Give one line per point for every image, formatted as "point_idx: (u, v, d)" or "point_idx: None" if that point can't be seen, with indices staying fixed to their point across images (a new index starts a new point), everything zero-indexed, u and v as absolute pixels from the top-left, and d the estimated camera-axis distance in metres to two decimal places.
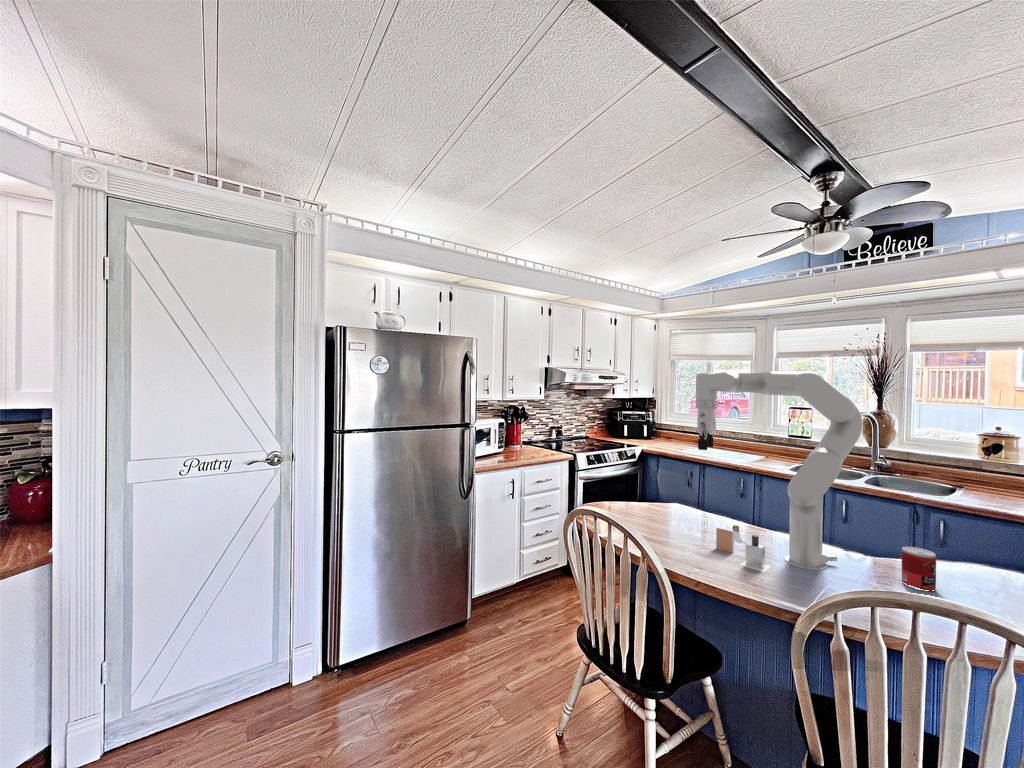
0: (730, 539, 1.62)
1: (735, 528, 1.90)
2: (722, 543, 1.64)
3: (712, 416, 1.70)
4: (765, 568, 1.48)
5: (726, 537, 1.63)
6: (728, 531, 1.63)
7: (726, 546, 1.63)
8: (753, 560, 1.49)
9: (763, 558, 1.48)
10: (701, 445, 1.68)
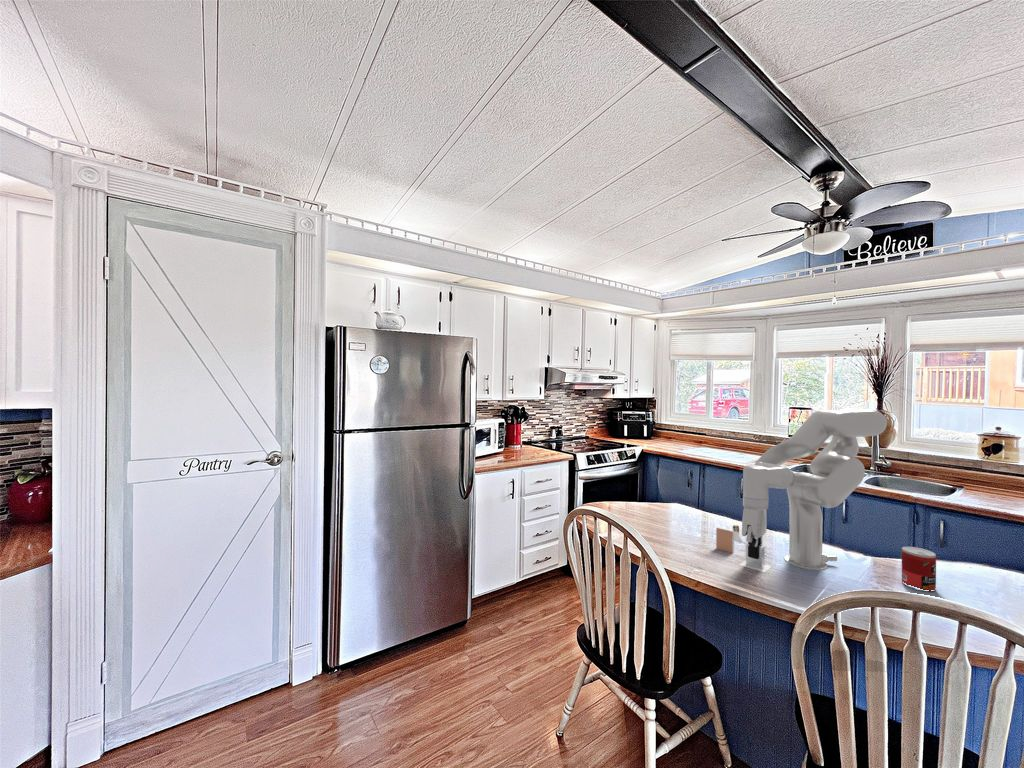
0: (730, 539, 1.62)
1: (735, 528, 1.90)
2: (722, 543, 1.64)
3: None
4: (765, 568, 1.48)
5: (726, 537, 1.63)
6: (728, 531, 1.63)
7: (726, 546, 1.63)
8: (753, 560, 1.49)
9: (763, 558, 1.48)
10: None
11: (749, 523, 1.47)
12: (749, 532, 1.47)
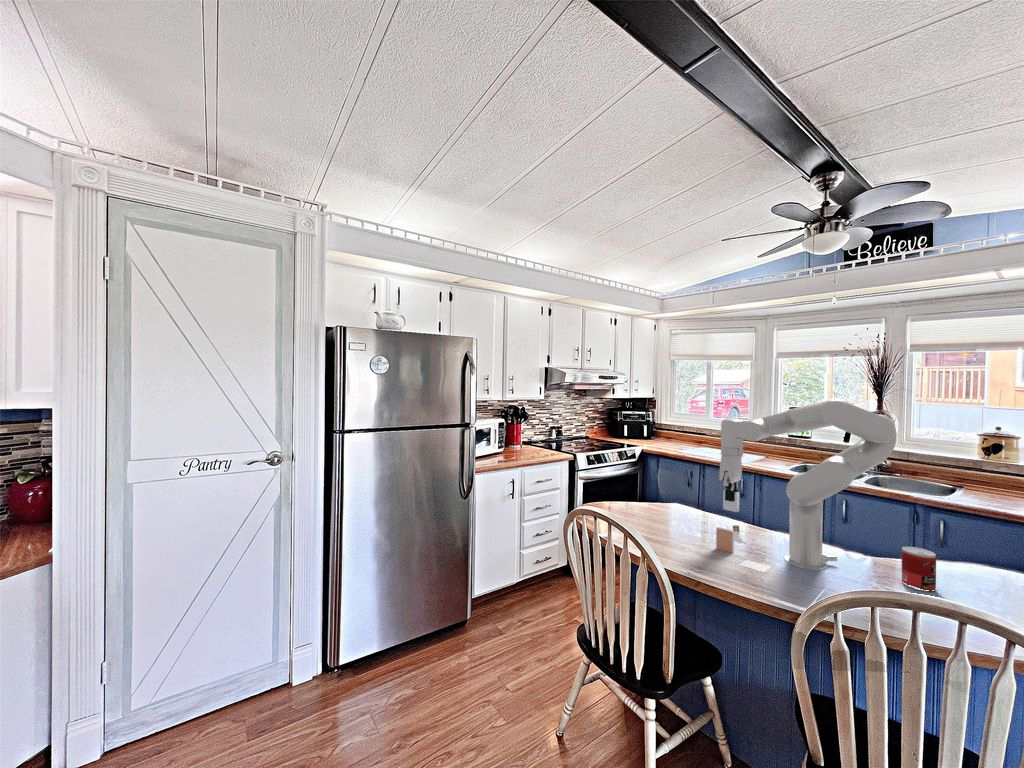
0: (730, 539, 1.62)
1: (735, 528, 1.90)
2: (722, 543, 1.64)
3: None
4: (765, 568, 1.48)
5: (726, 537, 1.63)
6: (728, 531, 1.63)
7: (726, 546, 1.63)
8: (729, 504, 1.68)
9: (738, 502, 1.67)
10: None
11: (725, 469, 1.65)
12: (725, 477, 1.65)
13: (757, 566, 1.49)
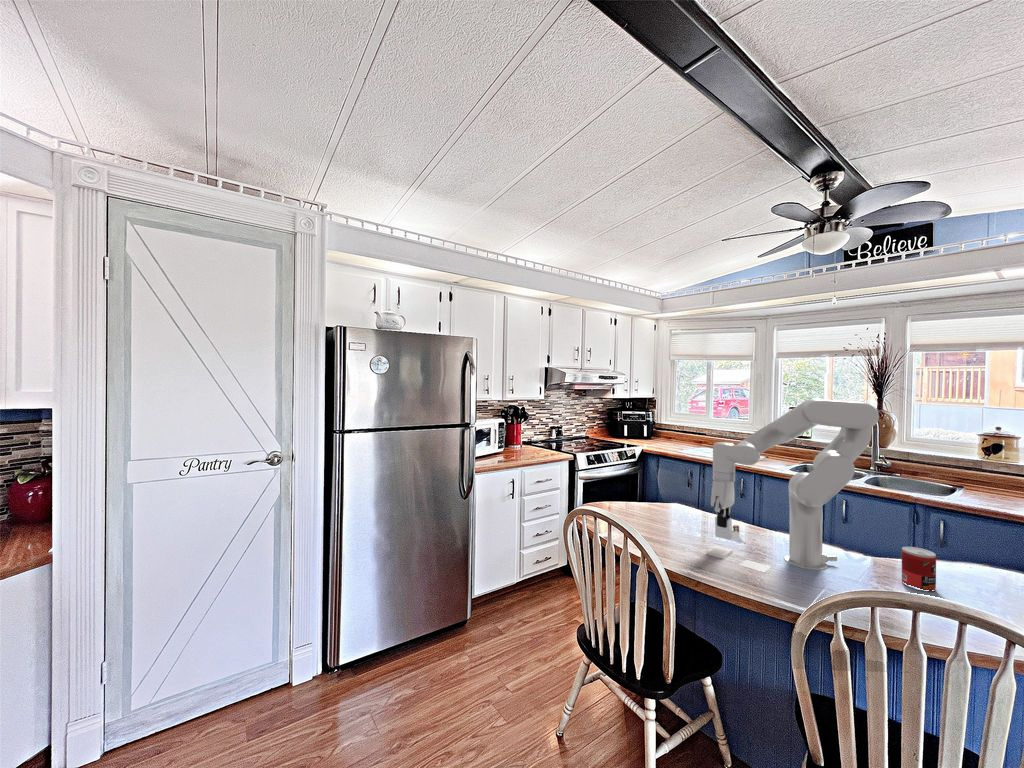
0: None
1: (735, 528, 1.90)
2: None
3: None
4: (765, 568, 1.48)
5: None
6: (719, 557, 1.58)
7: None
8: (721, 532, 1.63)
9: (730, 530, 1.62)
10: None
11: (717, 494, 1.60)
12: (717, 502, 1.60)
13: (757, 566, 1.49)
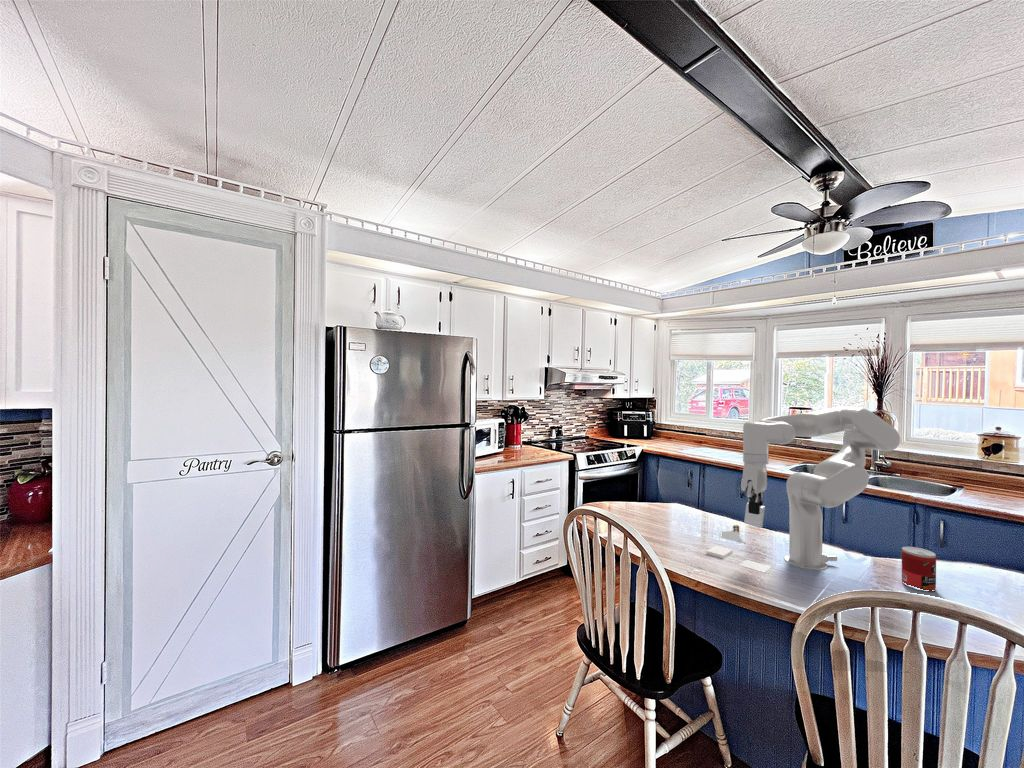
0: None
1: (735, 528, 1.90)
2: None
3: None
4: (765, 568, 1.48)
5: None
6: (719, 557, 1.58)
7: None
8: (751, 519, 1.50)
9: (762, 518, 1.49)
10: None
11: (749, 478, 1.47)
12: (749, 487, 1.47)
13: (757, 566, 1.49)
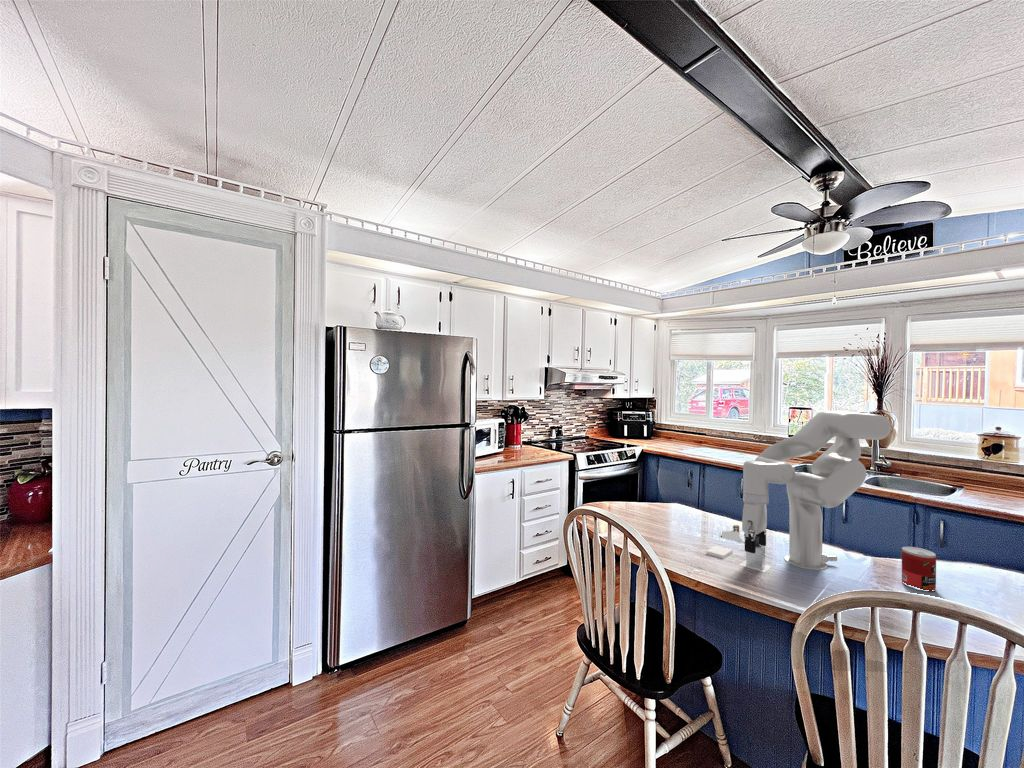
0: None
1: (735, 528, 1.90)
2: None
3: None
4: (765, 568, 1.48)
5: None
6: (719, 557, 1.58)
7: None
8: (753, 560, 1.49)
9: (763, 558, 1.48)
10: None
11: (749, 519, 1.47)
12: (748, 523, 1.46)
13: None
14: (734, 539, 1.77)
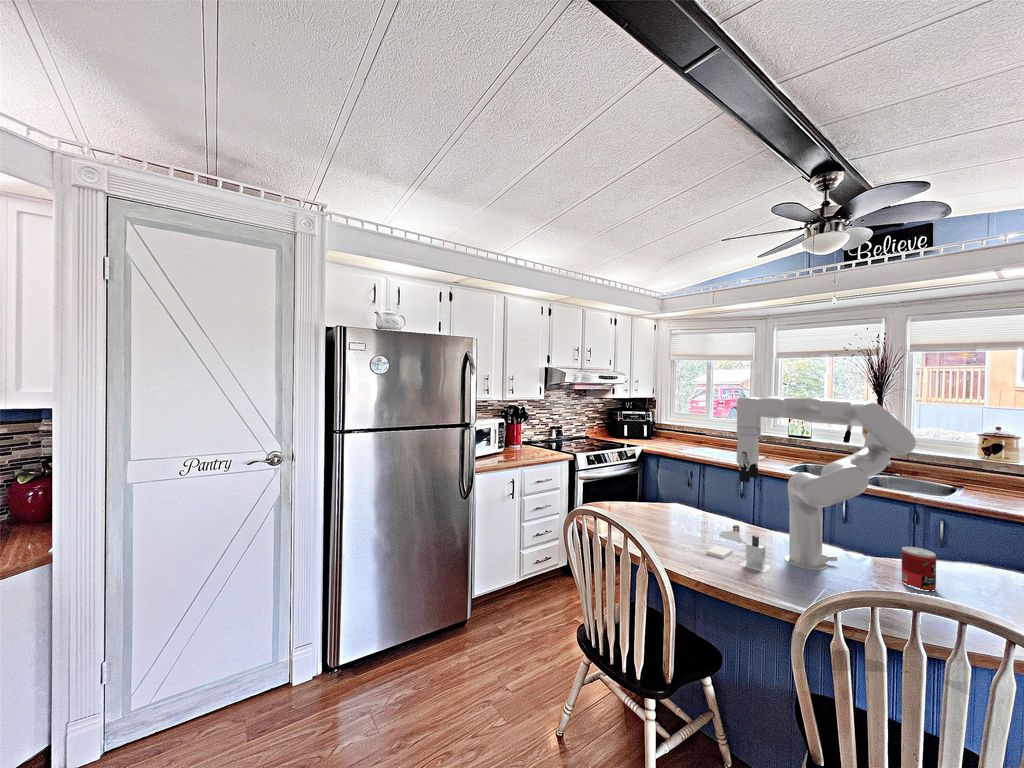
0: None
1: (735, 528, 1.90)
2: None
3: None
4: (765, 568, 1.48)
5: None
6: (719, 557, 1.58)
7: None
8: (753, 560, 1.49)
9: (763, 558, 1.48)
10: None
11: (744, 450, 1.54)
12: (743, 454, 1.53)
13: None
14: (734, 539, 1.77)
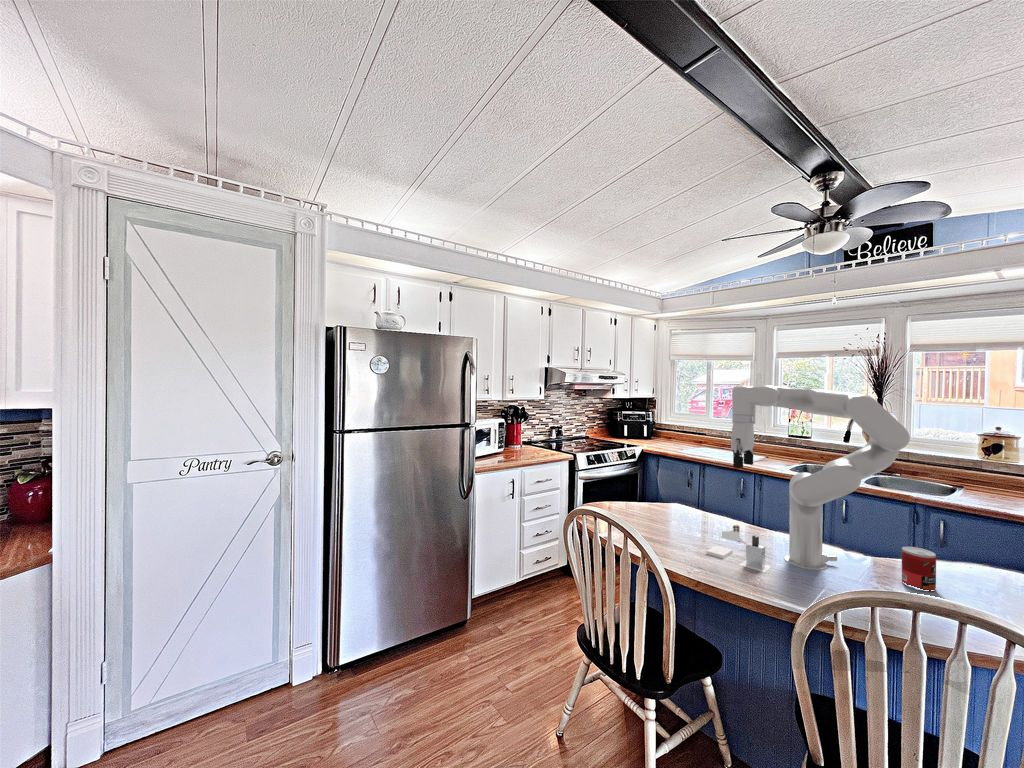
0: None
1: (735, 528, 1.90)
2: None
3: None
4: (765, 568, 1.48)
5: None
6: (719, 557, 1.58)
7: None
8: (753, 560, 1.49)
9: (763, 558, 1.48)
10: None
11: (737, 437, 1.60)
12: (736, 441, 1.59)
13: None
14: (734, 539, 1.77)
